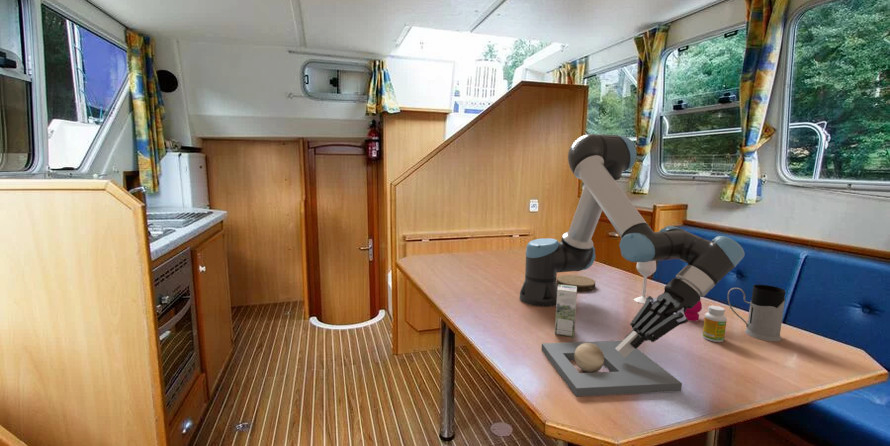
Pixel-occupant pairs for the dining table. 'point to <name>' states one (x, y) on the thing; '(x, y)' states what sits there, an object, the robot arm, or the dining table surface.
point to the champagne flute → (645, 277)
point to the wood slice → (577, 282)
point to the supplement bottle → (714, 324)
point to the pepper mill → (693, 312)
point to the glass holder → (764, 312)
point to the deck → (625, 372)
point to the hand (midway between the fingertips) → (620, 353)
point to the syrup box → (565, 310)
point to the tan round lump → (589, 357)
